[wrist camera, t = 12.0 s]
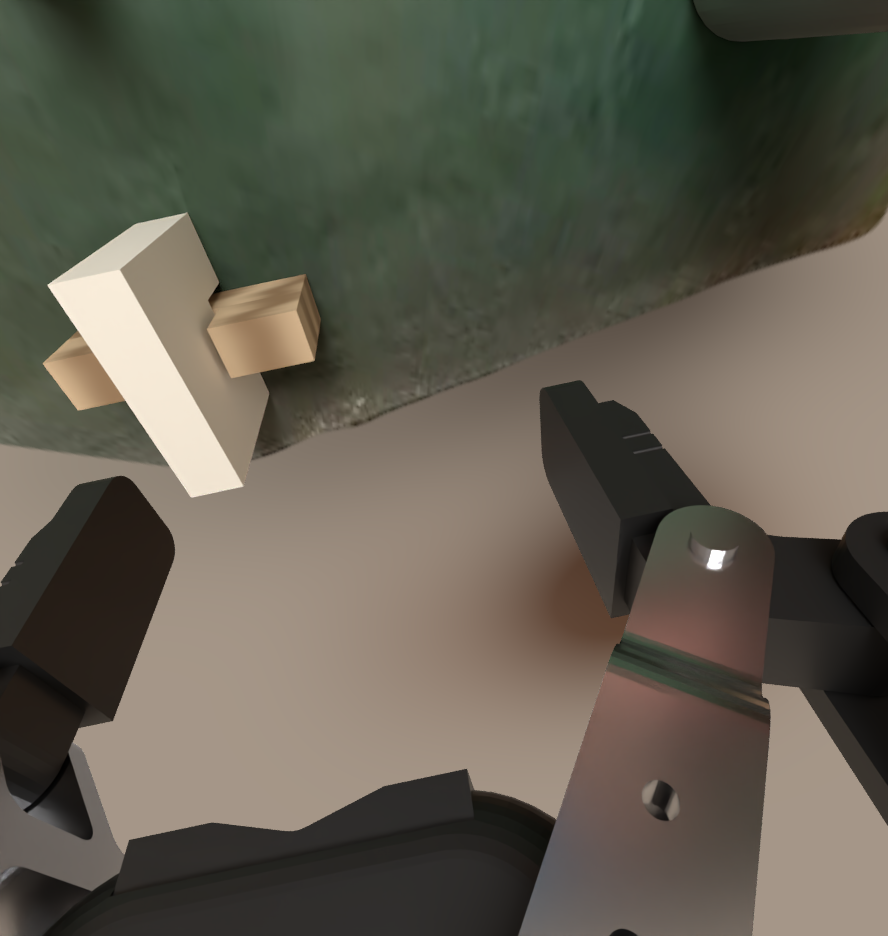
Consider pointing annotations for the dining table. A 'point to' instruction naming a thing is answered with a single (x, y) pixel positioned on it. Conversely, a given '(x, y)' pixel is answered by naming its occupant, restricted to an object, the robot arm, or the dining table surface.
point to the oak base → (215, 339)
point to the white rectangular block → (167, 349)
